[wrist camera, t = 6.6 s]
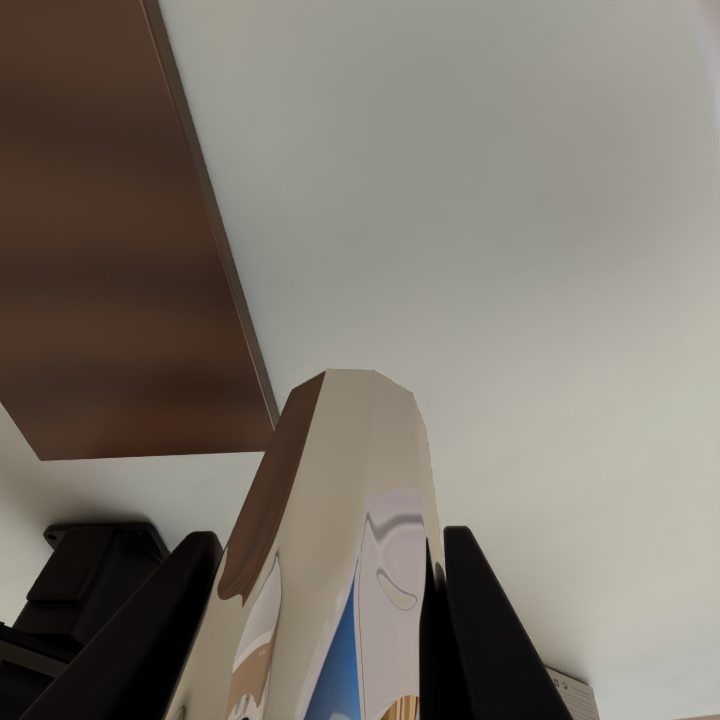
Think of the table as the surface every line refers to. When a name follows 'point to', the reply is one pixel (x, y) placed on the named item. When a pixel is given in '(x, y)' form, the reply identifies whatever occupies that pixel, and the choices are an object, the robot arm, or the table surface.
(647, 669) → the table surface
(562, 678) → the small box
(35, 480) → the table surface
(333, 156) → the table surface
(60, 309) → the walnut board
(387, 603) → the milkshake
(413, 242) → the table surface
